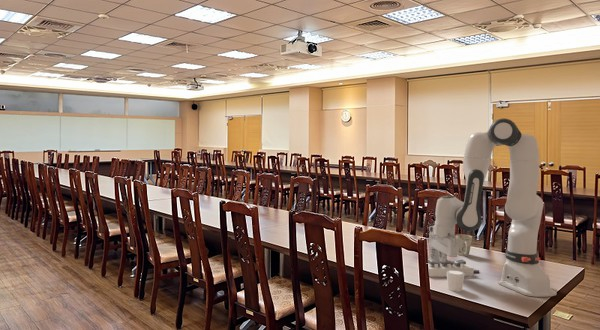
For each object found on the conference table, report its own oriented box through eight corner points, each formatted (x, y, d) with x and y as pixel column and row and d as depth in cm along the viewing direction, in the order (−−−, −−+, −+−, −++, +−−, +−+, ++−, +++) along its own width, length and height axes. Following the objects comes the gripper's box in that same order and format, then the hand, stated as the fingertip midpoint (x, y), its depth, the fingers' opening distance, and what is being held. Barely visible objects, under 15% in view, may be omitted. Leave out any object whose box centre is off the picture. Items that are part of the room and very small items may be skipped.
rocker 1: (439, 266, 197) (440, 263, 197) (430, 264, 196) (431, 261, 196) (436, 264, 200) (437, 261, 200) (427, 262, 199) (428, 259, 199)
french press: (428, 261, 218) (430, 211, 217) (428, 255, 229) (430, 208, 228) (448, 263, 215) (451, 213, 214) (448, 257, 226) (450, 209, 225)
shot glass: (449, 285, 183) (450, 268, 183) (466, 289, 179) (467, 272, 179) (443, 289, 178) (444, 272, 178) (460, 293, 174) (461, 276, 173)
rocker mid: (453, 265, 198) (453, 262, 198) (443, 265, 197) (443, 262, 197) (449, 263, 201) (449, 260, 201) (440, 263, 200) (440, 260, 200)
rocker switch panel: (483, 275, 198) (484, 264, 198) (427, 276, 194) (427, 265, 193) (473, 270, 206) (474, 259, 206) (419, 271, 202) (420, 260, 201)
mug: (468, 252, 238) (469, 234, 237) (475, 259, 225) (476, 240, 225) (452, 252, 239) (453, 233, 238) (458, 258, 226) (460, 239, 226)
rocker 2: (466, 264, 199) (465, 261, 199) (456, 266, 198) (456, 263, 198) (462, 262, 202) (461, 259, 202) (453, 264, 201) (452, 261, 201)
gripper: (463, 236, 188) (460, 268, 189) (439, 226, 208) (437, 255, 209) (449, 236, 187) (447, 268, 188) (427, 226, 207) (425, 255, 208)
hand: (441, 261), depth 199 cm, fingers closed
